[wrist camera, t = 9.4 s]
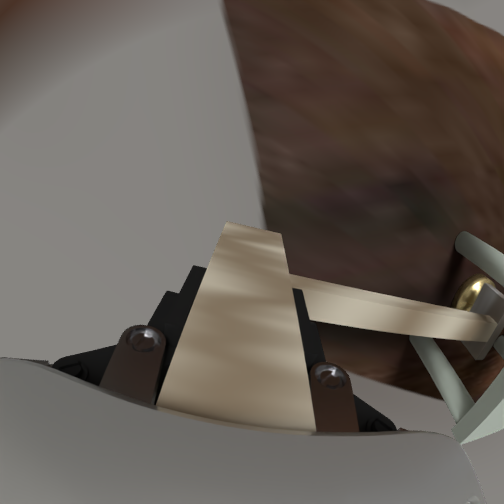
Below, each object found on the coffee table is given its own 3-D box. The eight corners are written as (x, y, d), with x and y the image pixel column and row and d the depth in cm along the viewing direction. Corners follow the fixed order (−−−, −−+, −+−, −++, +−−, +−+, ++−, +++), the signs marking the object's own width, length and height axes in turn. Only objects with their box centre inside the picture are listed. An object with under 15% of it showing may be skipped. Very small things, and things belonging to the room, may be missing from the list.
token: (493, 277, 19) (502, 284, 18) (471, 321, 21) (478, 329, 19) (465, 267, 19) (475, 275, 17) (441, 316, 21) (449, 325, 19)
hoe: (491, 284, 16) (593, 394, 3) (464, 335, 18) (541, 454, 5) (228, 212, 15) (116, 509, 2) (212, 292, 17) (146, 539, 4)
